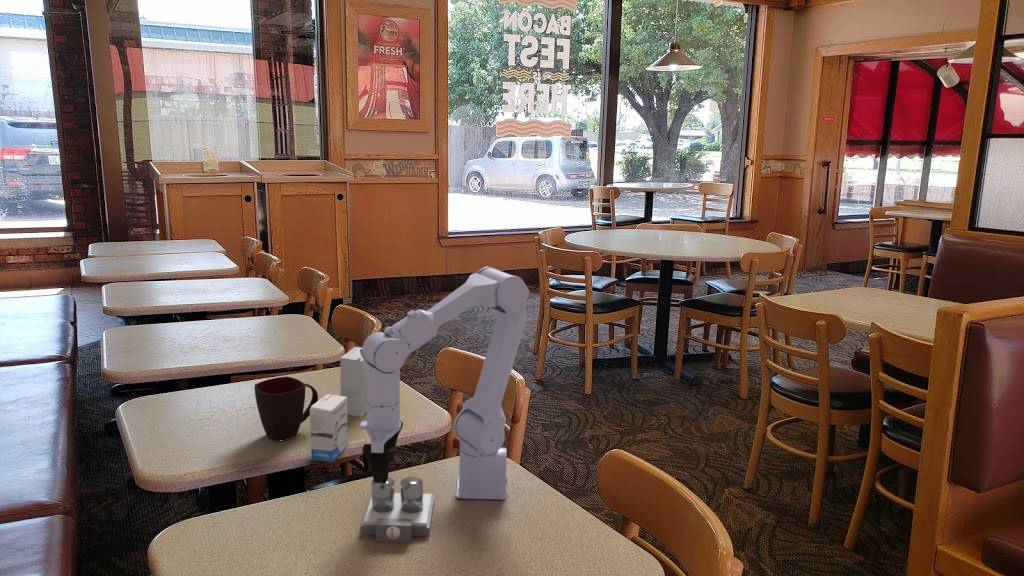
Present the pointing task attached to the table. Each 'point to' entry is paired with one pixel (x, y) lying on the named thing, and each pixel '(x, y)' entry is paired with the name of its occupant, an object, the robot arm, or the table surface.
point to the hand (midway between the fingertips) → (383, 471)
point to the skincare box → (354, 382)
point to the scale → (398, 521)
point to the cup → (282, 406)
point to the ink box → (328, 427)
